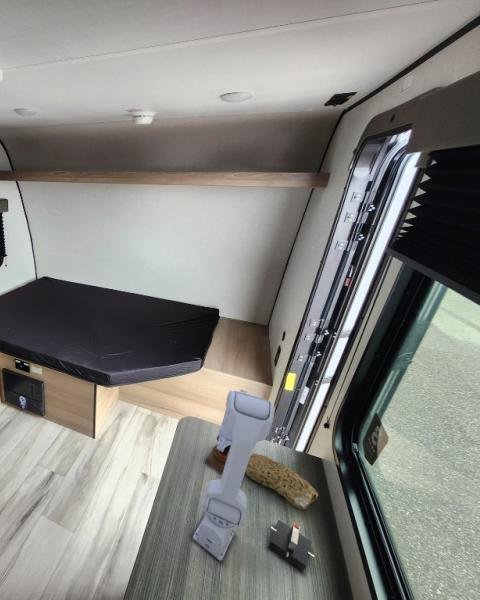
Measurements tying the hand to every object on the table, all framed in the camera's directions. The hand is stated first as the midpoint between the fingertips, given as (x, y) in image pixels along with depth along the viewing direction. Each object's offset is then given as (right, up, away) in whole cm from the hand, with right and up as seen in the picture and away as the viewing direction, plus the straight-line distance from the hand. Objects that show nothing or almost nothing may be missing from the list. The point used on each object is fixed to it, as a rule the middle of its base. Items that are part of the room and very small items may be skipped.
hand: (223, 453), depth 108 cm
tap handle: (+7, -11, -25) cm, 28 cm away
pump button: (0, -2, +1) cm, 2 cm away
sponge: (+13, -7, -7) cm, 17 cm away
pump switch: (0, -3, +1) cm, 3 cm away
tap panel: (+7, -14, -24) cm, 29 cm away
